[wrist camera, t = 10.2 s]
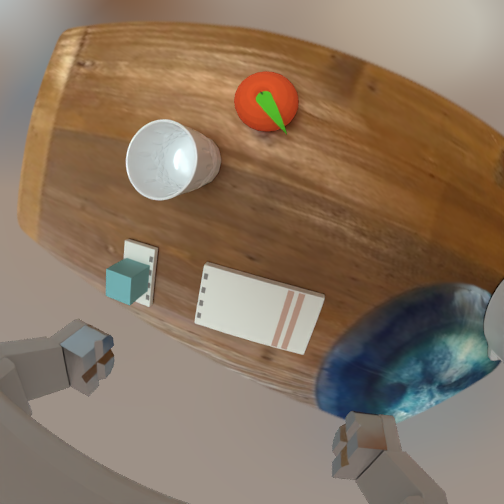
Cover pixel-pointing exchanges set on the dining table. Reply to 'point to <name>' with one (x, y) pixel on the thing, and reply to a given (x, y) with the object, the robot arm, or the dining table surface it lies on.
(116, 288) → the stub
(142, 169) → the white cup
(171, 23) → the dining table surface
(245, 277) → the ticket
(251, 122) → the clementine
